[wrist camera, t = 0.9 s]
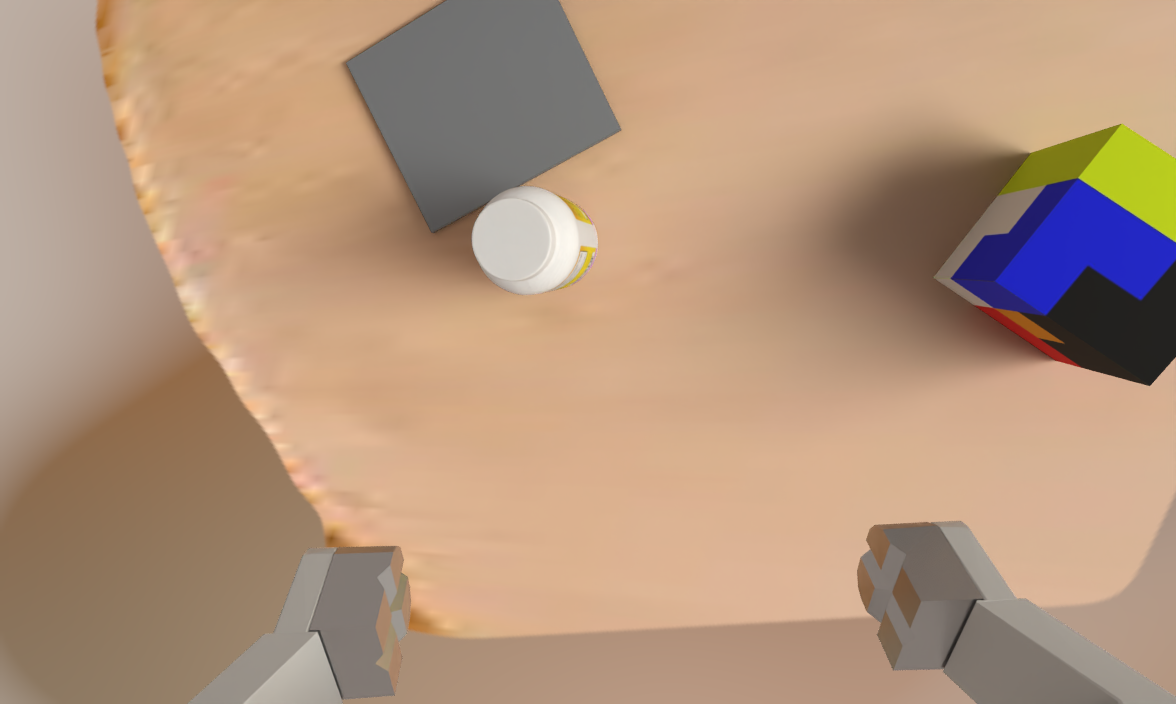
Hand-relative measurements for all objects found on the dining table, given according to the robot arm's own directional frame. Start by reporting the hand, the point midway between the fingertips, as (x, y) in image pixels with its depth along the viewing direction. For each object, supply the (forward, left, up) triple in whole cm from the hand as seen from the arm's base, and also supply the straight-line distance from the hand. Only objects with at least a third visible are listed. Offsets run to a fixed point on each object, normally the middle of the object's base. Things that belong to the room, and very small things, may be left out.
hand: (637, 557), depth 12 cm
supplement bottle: (+1, -11, -40) cm, 41 cm away
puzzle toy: (-19, +16, -40) cm, 47 cm away
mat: (-4, -22, -40) cm, 46 cm away
